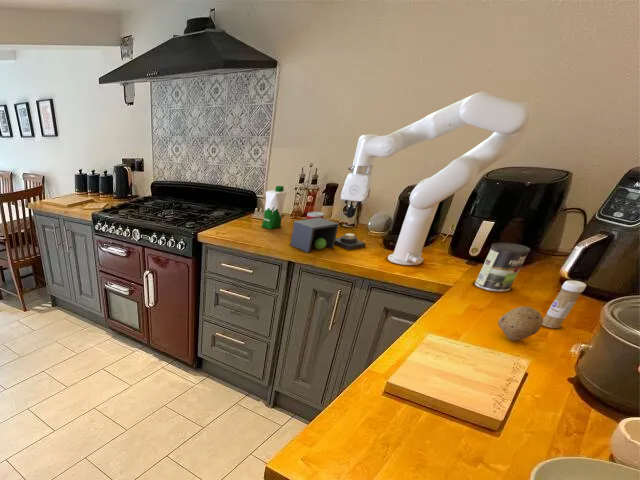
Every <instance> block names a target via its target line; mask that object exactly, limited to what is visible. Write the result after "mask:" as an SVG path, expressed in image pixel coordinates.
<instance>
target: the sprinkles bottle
mask: <svg viewBox="0 0 640 480" xmlns="http://www.w3.org/2000/svg"><path fill="white" fill-rule="evenodd" d="M586 287H587V284H586V283H584V282H582V281H579V280H572V279H570V280H566V281H564V282H563V284H562V286H561V289H560V291H559V292H558V294H557V296H556V297H555V298H554V301H553V302H552V304H551V305H550V306H549V308H548V310H547V312H546V314H545V315H544V317H543V323H542V326H544V327H546V328H550V329H560V328H561V327H562V324H563V322H564V321H565V320H566V319H567V317H568V315H569V314H570V311H571V310H572V309H573V307H574V305H575V304H576V302H577V300H578V299H579V298H580V296H581V294H582V293H583V292H584V291H585V289H586Z"/></svg>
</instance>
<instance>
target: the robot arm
mask: <svg viewBox="0 0 640 480" xmlns="http://www.w3.org/2000/svg"><path fill="white" fill-rule="evenodd" d="M532 116H533V108H532V107H531V105H530V104H529V102H525V101H514V100H511V99H506V98H504V97H503V98H502V97H499V96H496V95H493V94H491V93H490V92H487V91H478V92H476V93H473V94H471V95H469V96H466V97H464V98H462V99H460V100H458V101H456V102H454V103H451V104H449V105H447V106H445V107H442V108H440V109H438V110H436V111H434V112H431V113H430V114H427V115H426V116H425V117H423V118H421V119H420V120H417V121H415V122H413V123H411V124H409V125H407V126H404V127H402V128H400V129H397V130H395V131H393V132H391V133H388V134H387V135H379V134H373V133H369V134H362V135H360V136H359V138H358V140H357V144H356V149H355V153H354V158H353V162H352V164H351V165H349V166H348V171H350V172H348V173H347V176H346V178H345V181H344V184H343V187H342V190H341V193H340V201H341V202H342V203H345V205H346V208H347V209H346V213H345V214H346V218H347V219H352V218H354V217H355V215H356V212H357V208H358V207H360V206H361V205H366V204H368V203H369V201H368V200H369V198H370V194H371V191H372V185H373V173H372V171H373V167H374V164H375V160H376V157H380V158H390V157H392V156H394V155H395V154H396V153H398V152H400V151H403V150H406V149H408V148H410V147H412V146H415V145H417V144H419V143H423V142H426V141H430V140H434V139H437V138H439V137H442V136H445V135H446V134H449V133H451V132H454V131H456V130H458V129H460V128H463V127H466V126H468V125H471V126H473V127H476V128H480V129H483V130H487V131H490V132H493V133H492V134H491V135H490V136H489V137H487V138H486V139H485V140H483V141H481V142H480V143H479V144H477V145H476V146H474V147H473V148H471V149H470V150H468V151H467V152H465V153H464V154H462V155H460V156H459V157H457V158H455V159H453V160H452V161H451V162H449V163H448V164H447V166H445V167H444V168H442V169H440V170H439V171H438V172H436V173H435V174H433V175H432V176H430V177H426V178H424V179H422V180H421V181H419V182H418V183H417V184H416V185H415V187H414V188H413V189H412V191H411V192H410V195H409V199H408V200H409V205H408V208H407V211H406V214H405V217H404V220H403V222H402V225H401V229H400V232H399V235H398V238H397V241H396V244H395V247H394V250H393V253H390V254H388V256H387V260H388V262H391V263H393V264H397V265H403V266H418V265H421V264H422V263H423V262H424V260H425V258H424V257H422V255H423V248H424V246H425V244H426V243H425V242H426V240H427V237H428V235H429V232H430V229H431V226H432V224H433V221H434V218H435V215H436V213H437V210H438V208H439V205H440V203H441V202H442V201H444V200H446V199H447V198H449V197H451V196H452V195H454V194H456V193H457V192H459V191H460V190H462V189H464V188H465V187H467V186H468V185H469V184H470V183H471V182H472V181H473V180H474V179H475V178H476V176H477V175H478V174H480V173H481V172H483V171H485V170H486V169H488V168H489V167H491V166H492V165H494V164H496V163H497V162H498V161H500V160H501V159H502V158H504V157H505V156H507V155H508V154H510V153H511V152H512V151H513V150H515V148H516V147H517V146H518V145H519V144H520V143H521V142H522V140H523V139H524V137H525V135H526V134H527V132H528V129H529V127H530V124H531V120H532Z"/></svg>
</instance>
